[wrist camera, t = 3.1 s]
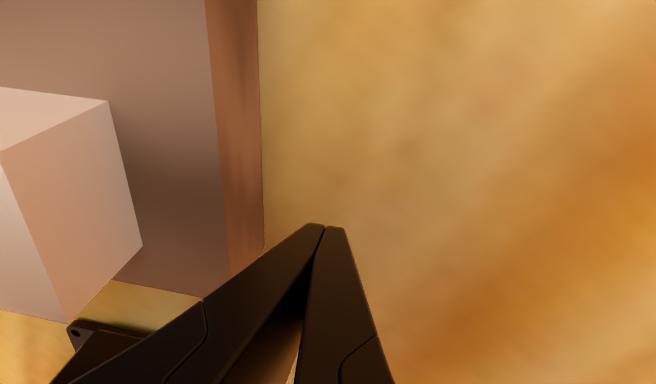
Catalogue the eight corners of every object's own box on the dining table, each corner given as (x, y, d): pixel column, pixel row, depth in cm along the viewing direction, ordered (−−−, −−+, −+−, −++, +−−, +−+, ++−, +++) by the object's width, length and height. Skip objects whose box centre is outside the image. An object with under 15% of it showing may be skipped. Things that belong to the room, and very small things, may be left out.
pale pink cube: (142, 245, 12) (69, 324, 9) (12, 222, 12) (-91, 289, 10) (107, 100, 10) (-4, 153, 7) (-51, 79, 10) (-207, 121, 8)
